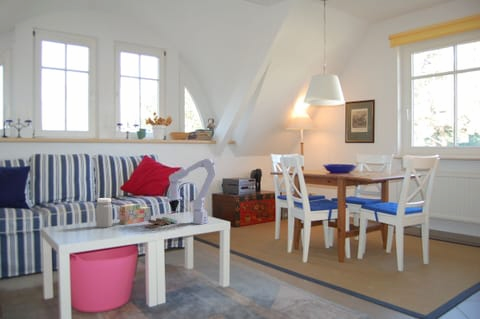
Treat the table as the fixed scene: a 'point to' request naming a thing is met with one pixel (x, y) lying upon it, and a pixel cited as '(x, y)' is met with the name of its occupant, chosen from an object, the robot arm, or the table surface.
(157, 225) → the domino
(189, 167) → the robot arm
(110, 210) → the jar
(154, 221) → the domino
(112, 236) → the table surface
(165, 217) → the domino
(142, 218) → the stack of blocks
